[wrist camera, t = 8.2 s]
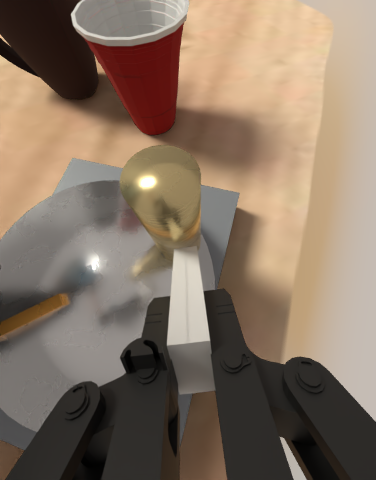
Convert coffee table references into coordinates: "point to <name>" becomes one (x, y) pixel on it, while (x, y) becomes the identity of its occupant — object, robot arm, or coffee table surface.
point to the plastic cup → (137, 53)
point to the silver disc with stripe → (92, 277)
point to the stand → (214, 233)
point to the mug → (48, 45)
